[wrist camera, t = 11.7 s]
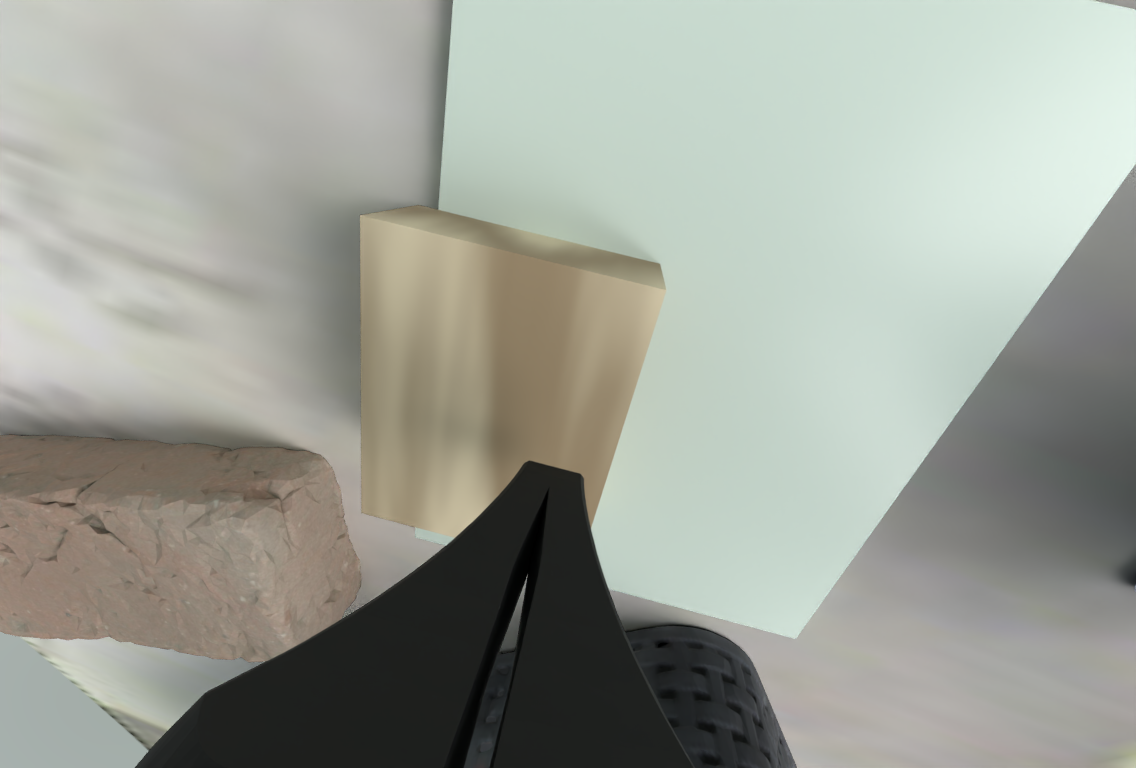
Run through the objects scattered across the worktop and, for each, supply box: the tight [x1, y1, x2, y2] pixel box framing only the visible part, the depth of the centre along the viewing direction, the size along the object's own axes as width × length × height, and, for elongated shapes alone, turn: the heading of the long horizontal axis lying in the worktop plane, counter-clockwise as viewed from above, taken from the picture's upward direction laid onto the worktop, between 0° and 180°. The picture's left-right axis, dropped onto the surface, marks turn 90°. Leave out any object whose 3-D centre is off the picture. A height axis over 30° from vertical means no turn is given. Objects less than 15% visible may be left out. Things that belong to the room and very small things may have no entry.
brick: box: [0, 435, 361, 662], centre depth 19 cm, size 17×8×5 cm, turn 92°
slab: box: [360, 205, 666, 538], centre depth 13 cm, size 3×9×7 cm
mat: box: [415, 0, 1136, 639], centre depth 14 cm, size 16×20×1 cm
